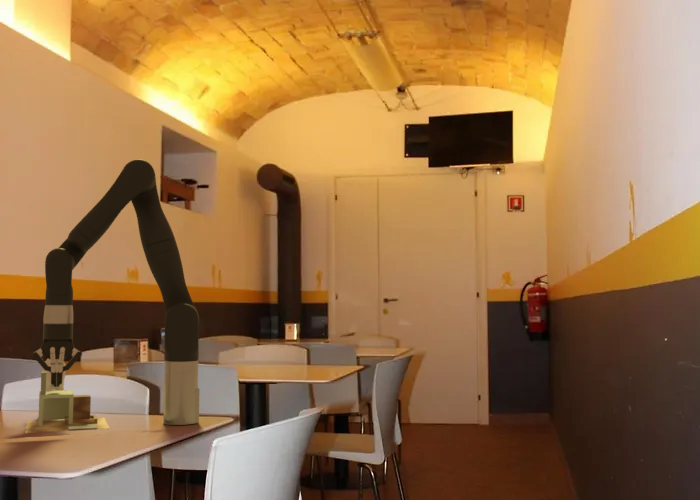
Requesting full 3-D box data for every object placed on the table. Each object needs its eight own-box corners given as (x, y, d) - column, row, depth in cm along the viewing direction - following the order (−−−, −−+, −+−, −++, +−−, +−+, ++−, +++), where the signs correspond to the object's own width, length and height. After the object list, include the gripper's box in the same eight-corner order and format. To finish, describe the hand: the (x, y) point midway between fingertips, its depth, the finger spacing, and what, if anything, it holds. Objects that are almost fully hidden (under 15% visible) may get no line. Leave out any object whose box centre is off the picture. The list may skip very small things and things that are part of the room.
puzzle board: (104, 421, 212) (104, 413, 212) (109, 432, 193) (109, 423, 194) (27, 425, 205) (27, 417, 205) (25, 436, 186) (25, 427, 186)
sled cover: (71, 418, 208) (73, 370, 209) (72, 424, 198) (74, 373, 199) (38, 420, 205) (40, 371, 206) (38, 425, 195) (39, 374, 196)
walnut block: (89, 420, 207) (89, 394, 208) (89, 422, 203) (90, 396, 203) (71, 421, 205) (72, 395, 206) (72, 423, 201) (73, 397, 202)
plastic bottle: (70, 418, 217) (72, 348, 219) (49, 421, 212) (51, 350, 213) (55, 416, 221) (58, 348, 222) (35, 419, 215) (37, 349, 217)
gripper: (83, 321, 210) (81, 384, 208) (32, 321, 205) (30, 386, 204) (84, 322, 203) (82, 387, 201) (31, 322, 198) (29, 388, 197)
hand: (56, 386), depth 202 cm, fingers closed
